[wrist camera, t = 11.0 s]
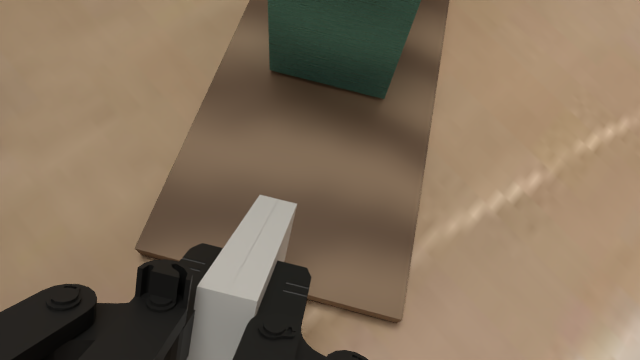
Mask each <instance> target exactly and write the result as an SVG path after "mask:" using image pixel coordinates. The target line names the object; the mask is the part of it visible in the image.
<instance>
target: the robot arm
mask: <svg viewBox="0 0 640 360" xmlns="http://www.w3.org/2000/svg"><path fill="white" fill-rule="evenodd" d="M296 207H297V204H296V203H292V202H288V201H284V200H280V199H276V198H272V197H267V196H263V195H259V197H258V198H257V200H256V201H255V202H254V204H253V205H252V207H251V208H250V210H249V211H248V213H247V214H246V216H245V217H244V219H243V220H242V221H241V223H240V224H239V226H238V227H237V229H236V230H235V232H234V233H233V235H232V236H231V238H230V239H229V240H228V242H227V243H226V245H225V246H224V248H221V247H217V246H213V245H209V244H205V243H201V244H199V245H196V246H194V247H192V248H190V249H189V250H188V251H187V252H186V254H185V255H184V256H183V258H182V259H181V260H180V261H179V262H178V261H174V260H167V259H162V260H153V261H150V262H146V263H144V264H142V265H141V266H139V267H138V270H137V281H136V292H135V297H134V298H133V299H132V300H131V301H130V302H129V303H119V304H113V303H97V297H96V294H95V292H94V291H93V290H92V289H90V288H89V287H86V286H83V285H79V284H63V285H57V286H53V287H50V288H47V289H45V290H42V291H40V292H38V293H37V294H35V295H33V296H31V297H29V298H27V299H25V300H23V301H21V302H19V303H17V304H15V305H13V306H11V307H9V308H8V309H6V310H4V311H2V312H0V360H368V359H367V358H366V357H364V356H362V355H360V354H358V353H356V352H352V351H347V350H341V351H335V352H333V353H331V354H328V356H327V357H325V356H324V355H322V354H320V353H318V352H317V351H315V350H313V349H312V348H311V347H310V346H309V345H308V344H307V343H306V342H305V340H304V339H303V337H302V334H301V325H302V320H303V315H304V311H305V306H306V301H307V297H308V292H309V287H310V283H311V275H310V273H309V271H308V269H307V268H306V267H302V266H298V265H294V264H290V263H286V262H284V261H285V256H286V252H287V247H288V243H289V238H290V234H291V229H292V225H293V220H294V216H295V211H296Z"/></svg>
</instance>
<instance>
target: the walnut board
mask: <svg viewBox="0 0 640 360" xmlns="http://www.w3.org/2000/svg"><path fill="white" fill-rule="evenodd" d="M448 5H449V0H421V2H420V5H419V8H418V10H417V13H416V16H415V18H414V21H413V24H412V26H411V29H410V32H409V34H408V37H407V40H406V42H405V45H404V48H403V50H402V53H401V56H400V58H399V61H398V64H397V67H396V69H395V72H394V75H393V77H392V80H391V83H390V85H389V88H388V91H387V93H386V96H385V99H382V98H378V97H374V96H370V95H366V94H362V93H358V92H354V91H350V90H346V89H343V88H339V87H335V86H331V85H327V84H323V83H319V82H315V81H311V80H307V79H303V78H299V77H295V76H291V75H287V74H283V73H279V72H276V71H272V70H270V66H269V31H268V0H250V1H249V3H248V5H247V7H246V10H245V12H244V14H243V16H242V18H241V20H240V23H239V25H238V27H237V29H236V31H235V33H234V35H233V38H232V40H231V42H230V44H229V46H228V48H227V51H226V53H225V55H224V57H223V59H222V61H221V64H220V66H219V68H218V70H217V72H216V74H215V76H214V79H213V81H212V83H211V85H210V87H209V89H208V92H207V94H206V96H205V98H204V100H203V102H202V104H201V107H200V109H199V111H198V113H197V115H196V117H195V120H194V122H193V124H192V126H191V128H190V130H189V132H188V135H187V137H186V139H185V141H184V143H183V145H182V148H181V150H180V152H179V154H178V156H177V158H176V161H175V163H174V165H173V167H172V169H171V171H170V173H169V176H168V178H167V180H166V182H165V184H164V186H163V189H162V191H161V193H160V195H159V197H158V199H157V201H156V204H155V206H154V208H153V210H152V212H151V214H150V217H149V219H148V221H147V223H146V225H145V227H144V230H143V232H142V234H141V236H140V238H139V240H138V242H137V245H136V247H135V249H136V250H137V251H138V252H139V253H140V254H142V255H145V256H149V257H153V258H157V259H160V260H162V259H167V260H174V261H178V262H179V261H180V260H181V259H182V258H183V256H184V255H185V254H186V252H187V251H188V250H189V249H190V248H192V247H194V246H196V245H199V244H201V243H205V244H209V245H213V246H217V247H221V248H224V246H225V245H226V243H227V242H228V240H229V239H230V238H231V236H232V235H233V233H234V232H235V230H236V229H237V227H238V226H239V224H240V223H241V221H242V220H243V219H244V217H245V216H246V214H247V213H248V211H249V210H250V208H251V207H252V205H253V204H254V202H255V201H256V200H257V198H258V197H259V195H263V196H267V197H272V198H276V199H280V200H284V201H288V202H292V203H296V204H297V207H296V211H295V216H294V220H293V225H292V229H291V234H290V238H289V243H288V247H287V252H286V256H285V261H284V262H286V263H290V264H294V265H298V266H302V267H306V268H307V269H308V271H309V273H310V275H311V283H310V287H309V292H308V297H307V299H310V300H313V301H317V302H321V303H325V304H328V305H332V306H336V307H339V308H343V309H347V310H351V311H354V312H358V313H362V314H366V315H369V316H373V317H377V318H380V319H384V320H388V321H392V322H395V323H397V322H399V321H401V320H402V318H403V311H404V304H405V297H406V290H407V284H408V277H409V270H410V263H411V256H412V250H413V243H414V236H415V229H416V222H417V216H418V209H419V202H420V195H421V188H422V182H423V175H424V168H425V161H426V154H427V148H428V141H429V134H430V127H431V120H432V114H433V107H434V100H435V93H436V86H437V80H438V73H439V66H440V59H441V52H442V46H443V39H444V32H445V25H446V18H447V12H448Z"/></svg>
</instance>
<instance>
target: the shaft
mask: <svg viewBox="0 0 640 360" xmlns="http://www.w3.org/2000/svg"><path fill="white" fill-rule="evenodd" d="M420 2H421V0H268V31H269V66H270V70H272V71H276V72H279V73H283V74H287V75H291V76H295V77H299V78H303V79H307V80H311V81H315V82H319V83H323V84H327V85H331V86H335V87H339V88H343V89H346V90H350V91H354V92H358V93H362V94H366V95H370V96H374V97H378V98H382V99H385V96H386V93H387V91H388V88H389V85H390V83H391V80H392V77H393V75H394V72H395V69H396V67H397V64H398V61H399V58H400V56H401V53H402V50H403V48H404V45H405V42H406V40H407V37H408V34H409V32H410V29H411V26H412V24H413V21H414V18H415V16H416V13H417V10H418V8H419V5H420Z"/></svg>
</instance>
